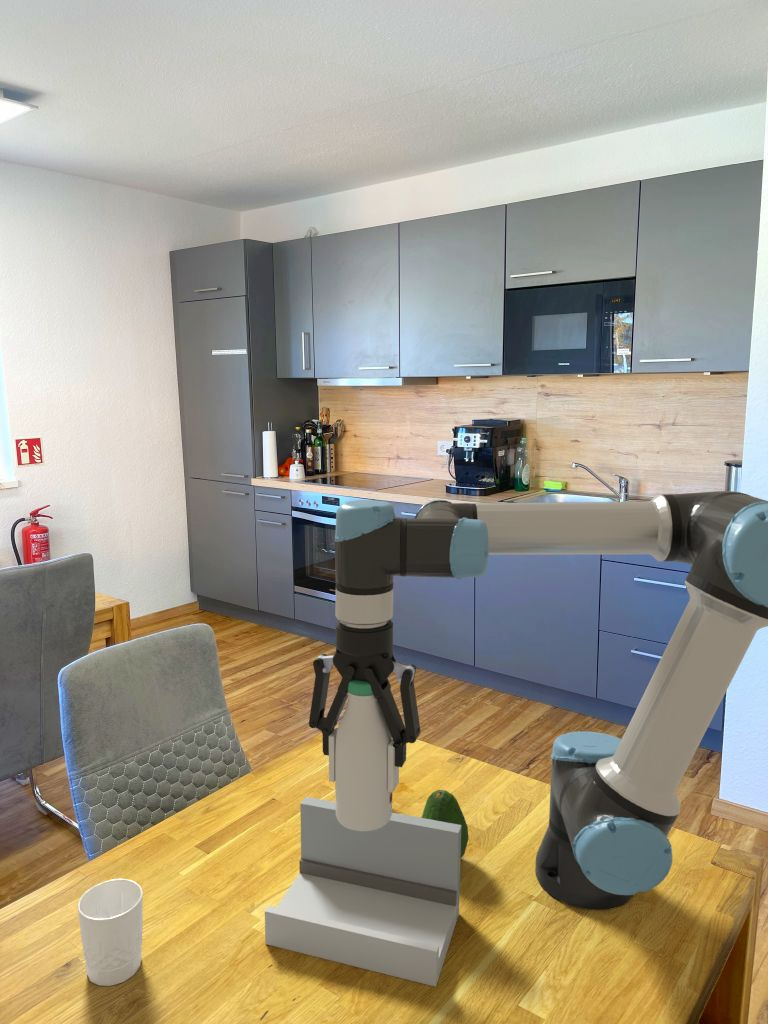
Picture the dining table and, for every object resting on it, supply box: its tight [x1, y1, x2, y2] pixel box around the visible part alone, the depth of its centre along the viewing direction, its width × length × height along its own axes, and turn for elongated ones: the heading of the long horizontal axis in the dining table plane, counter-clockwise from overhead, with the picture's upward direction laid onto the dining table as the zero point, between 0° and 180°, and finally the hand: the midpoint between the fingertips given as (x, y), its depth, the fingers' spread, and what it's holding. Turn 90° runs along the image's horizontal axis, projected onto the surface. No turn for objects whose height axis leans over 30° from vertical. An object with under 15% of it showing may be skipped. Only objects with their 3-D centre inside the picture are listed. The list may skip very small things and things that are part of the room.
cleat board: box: [264, 796, 462, 988], centre depth 105 cm, size 24×14×14 cm, turn 72°
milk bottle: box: [334, 680, 393, 831], centre depth 101 cm, size 8×8×20 cm
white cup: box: [77, 878, 144, 987], centre depth 98 cm, size 8×8×10 cm
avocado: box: [421, 789, 469, 860], centre depth 120 cm, size 8×8×12 cm
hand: (363, 781), depth 101 cm, fingers closed on milk bottle, 8 cm apart
